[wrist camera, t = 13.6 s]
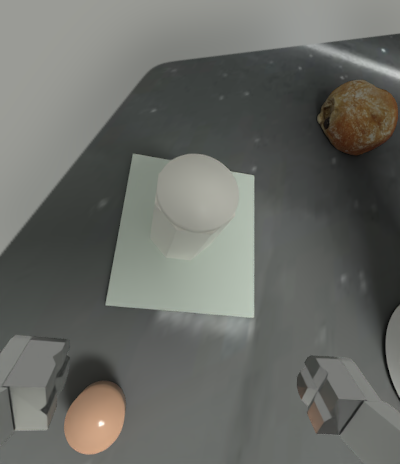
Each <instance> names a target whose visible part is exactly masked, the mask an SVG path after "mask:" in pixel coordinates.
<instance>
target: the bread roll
mask: <svg viewBox="0 0 400 464" xmlns="http://www.w3.org/2000/svg"><path fill="white" fill-rule="evenodd" d="M397 120H398V107H397V103H396V101H395V99H394V97H393V96H392V95H391V94H390V93H389V92H387V91H386V90H383V89H380V88H377V87H375V86H374V85H372V84H370V83H368V82H367V81H365V80H354V81H349V82H347V83H344V84H343V85H341V86H339V87H338V88H336V89H335V90H334V91H332V93H331V94H330V95H329V97H328V98H327V100H326V101H325V103H324V104H323V105H322V107H321V113H320V114H319V115H318V116H317V121H318V122H319V124H320V125H321V127H322V129H323V131H324V133H325V135H326V136H327V137H328V138H329V140H330V142H331V144H332V145H333V146H334V147H335V148H337V149H338V150H340V151H342V152H344V153H347V154H350V155H360V154H363V153H366V152H368V151H370V150H373V149H374V148H376V147H378V146H380V145H381V144H383V143H384V142H386V141H387V140H388V139H389V138H390V137H391V136H392V134H393V132H394V130H395V127H396V124H397Z"/></svg>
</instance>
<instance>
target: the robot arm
mask: <svg viewBox="0 0 400 464" xmlns="http://www.w3.org/2000/svg"><path fill="white" fill-rule="evenodd" d="M69 348H70V342H69V340H68V339H58V338H48V337H37V336H24V335H15V336H14V337H12V338H11V339H10V340H9V342H8V343H7V345H6V346H5V348H4V349H3V351H2V352H1V353H0V446H1V445H2V444H3V443H4V442H5V441H6V440H7V439H8V438H9V437H10V436H11V435H12V434H13V433H14V431H25V430H48V428H49V425H50V423H51V420H52V417H53V415H54V412H55V410H56V407H57V395H58V394H59V393H61V392H62V391H63V388H64V385H65V383H66V379H67V375H68V371H69V364H70V358H69V357H68V356H67V353H68V351H69ZM386 358H387V364H388V369H389V372H390V376H391V379H392V382H393V384H394V387H395V389H396V391H397V393H398V395H399V397H400V305H399V306H398V307H397V308H396V310H395V311H394V313H393V314H392V316H391V319H390V321H389V324H388V328H387V333H386ZM304 363H305V365H306V367H305V368H304V369H302V370H301V371H300V372H299V375H298V377H297V389H298V393H299V395H300V398H301V400H302V401H303V402H304V403H305V404H306V405H307V406H308V411H307V414H308V416H309V418H310V421H311V423H312V425H313V428H314V430H315V432H316V434H328V435H340V436H339V437H340V438H341V439H342V440H343V441H344V442H345V444H346V445H347V446H348V447H349V448H350V449H351V450H352V451H353V453H354V454H355V455H356V456H357V457H358V458H359V459H360V460H361V462H362V463H363V464H400V412H398V411H397V410H396V409H394V408H393V407H392V406H391V405H389V404H388V403H387V402H382V401H381V400H380V398H379V397H378V395H377V394H376V392H375V391H374V390H373V388H372V387H371V385H370V384H369V382H368V381H367V380H366V378H365V377H364V375H363V374H362V373H361V371H360V370H359V368H358V367H357V365H356V364H355V363H354V361H353V360H351V359H350V358H343V357H330V356H312V355H311V356H309V357H307V359H306V361H305V362H304Z"/></svg>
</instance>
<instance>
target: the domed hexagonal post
mask: <svg viewBox="0 0 400 464" xmlns="http://www.w3.org/2000/svg"><path fill="white" fill-rule="evenodd" d="M238 202H239V189H238V185H237V182H236V180H235V178H234V176H233V175H232V173H231V172H230V171H229V169H228V168H227V167H226V166H225V165H223V164H222V163H221V162H219V161H218V160H216V159H214V158H212V157H209V156H206V155H202V154H186V155H182V156H179V157H177V158H175V159H173V160H171V161H170V162H169V163H168V164H167V165H166V166H165V167H164V168H163V169H162V171H161V172H160V173H159V175H158V182H157V190H156V197H155V204H154V211H153V219H152V226H151V234H150V239H151V240H152V241H153V242H154V244H155V245H156V246H157V247H158V249H159V250H160V251H161V252H162V254H163V255H164V256H165V257H166V258H175V259H183V260H192V259H193V258H194V257H195V256H197V255H198V254H199V253H200V252H202V251H203V250H204V249H205V248H207V247H208V246H209V245H210V244H211V243H212V242H213V240H214V239H215V238H216V237H217V236H218V235H219V234H220V233H221V231H222V230H223V229H224V228H225V227H226V226H227V225H228V223H229V222H230V221H231V220H232V219H233V218H234V217H235V211H236V208H237V206H238Z"/></svg>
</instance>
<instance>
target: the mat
mask: <svg viewBox="0 0 400 464" xmlns="http://www.w3.org/2000/svg"><path fill="white" fill-rule="evenodd" d="M170 161H171V160H166V159H161V158H155V157H150V156H144V155H139V154H133V156H132V162H131V167H130V173H129V178H128V184H127V189H126V195H125V200H124V206H123V211H122V217H121V222H120V228H119V233H118V239H117V244H116V250H115V255H114V260H113V266H112V271H111V277H110V282H109V288H108V293H107V299H106V304H105V305H106V306H117V307H129V308H141V309H152V310H164V311H176V312H188V313H199V314H211V315H223V316H235V317H247V318H254V176H253V175H248V174H243V173H237V172H232V171H230V172H231V173H232V175H233V176H234V178H235V180H236V182H237V185H238V189H239V202H238V206H237V208H236V211H235V217H234V218H233V219H232V220H231V221H230V222H229V223H228V225H227V226H226V227H225V228H224V229H223V230H222V231H221V233H220V234H219V235H218V236H217V237H216V238H215V239H214V240H213V242H212V243H211V244H210V245H209V246H208V247H207V248H205V249H204V250H203V251H202V252H200V253H199V254H198V255H197V256H195V257H194V258H193V259H192V260H183V259H175V258H166V257H165V256H164V255H163V254H162V252H161V251H160V250H159V249H158V247H157V246H156V245H155V244H154V242H153V241H152V240H151V239H150V234H151V226H152V219H153V211H154V204H155V197H156V190H157V182H158V175H159V173H160V172H161V171H162V169H163V168H164V167H165V166H166V165H167V164H168V163H169V162H170Z"/></svg>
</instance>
